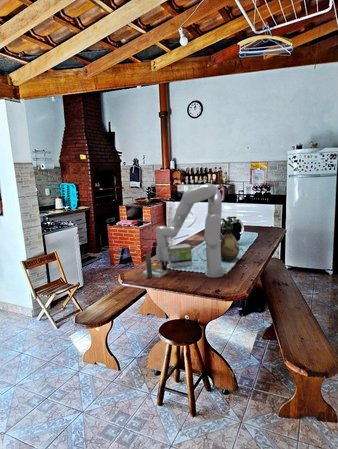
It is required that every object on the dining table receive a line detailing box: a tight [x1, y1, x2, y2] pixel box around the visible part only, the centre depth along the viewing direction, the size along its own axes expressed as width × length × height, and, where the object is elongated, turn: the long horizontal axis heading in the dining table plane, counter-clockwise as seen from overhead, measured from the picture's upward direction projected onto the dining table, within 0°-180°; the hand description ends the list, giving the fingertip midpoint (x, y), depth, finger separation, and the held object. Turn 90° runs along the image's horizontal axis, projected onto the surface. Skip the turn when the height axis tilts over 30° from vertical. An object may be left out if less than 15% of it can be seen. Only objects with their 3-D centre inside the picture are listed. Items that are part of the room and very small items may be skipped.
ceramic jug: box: [220, 219, 240, 263], centre depth 228 cm, size 17×15×30 cm
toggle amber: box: [151, 263, 159, 271], centre depth 213 cm, size 3×3×4 cm
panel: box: [142, 267, 168, 279], centre depth 212 cm, size 14×9×3 cm, turn 56°
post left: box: [145, 253, 153, 279], centre depth 204 cm, size 3×3×16 cm
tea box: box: [168, 243, 193, 269], centre depth 225 cm, size 15×10×15 cm
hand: (164, 270), depth 209 cm, fingers closed
